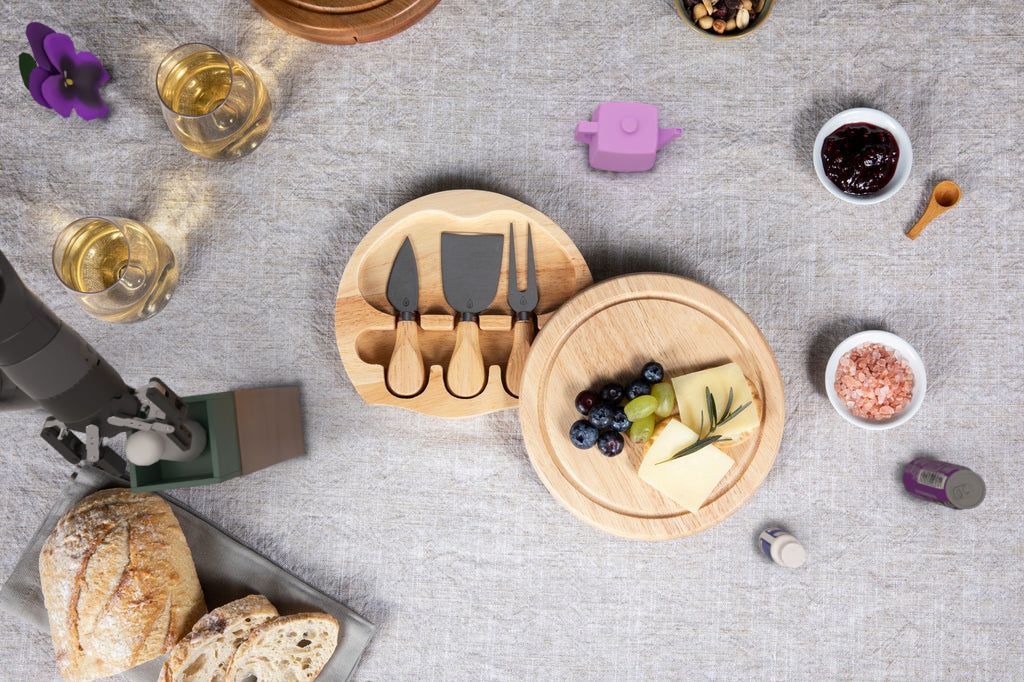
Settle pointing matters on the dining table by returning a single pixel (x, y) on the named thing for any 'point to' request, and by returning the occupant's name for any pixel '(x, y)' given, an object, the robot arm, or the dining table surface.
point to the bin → (214, 460)
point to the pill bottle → (782, 547)
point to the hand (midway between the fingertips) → (155, 457)
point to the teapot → (624, 136)
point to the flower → (62, 74)
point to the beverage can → (944, 483)
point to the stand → (267, 427)
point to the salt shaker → (164, 445)
